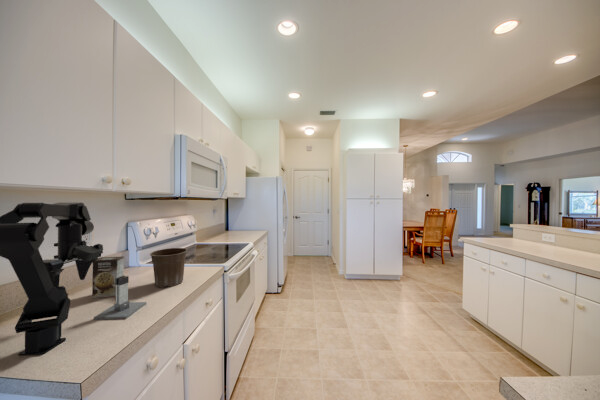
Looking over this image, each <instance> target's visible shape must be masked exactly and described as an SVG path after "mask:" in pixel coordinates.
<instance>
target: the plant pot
mask: <svg viewBox="0 0 600 400" xmlns="http://www.w3.org/2000/svg"><path fill="white" fill-rule="evenodd" d="M187 253H188V249H187V248H182V247H171V248H168V247H167V248H163V249H157V250H154V251H151V252H150V253H149V256H151V257H150V258H151V262H152V266H153V277H154V285H155V287H157V288H167V287H168V288H170V287H174V286H178V285H179V284H182V283H183V281H184V275H185V274H184V273H185V262H186V261H185V260H186V258H187Z"/></svg>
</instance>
